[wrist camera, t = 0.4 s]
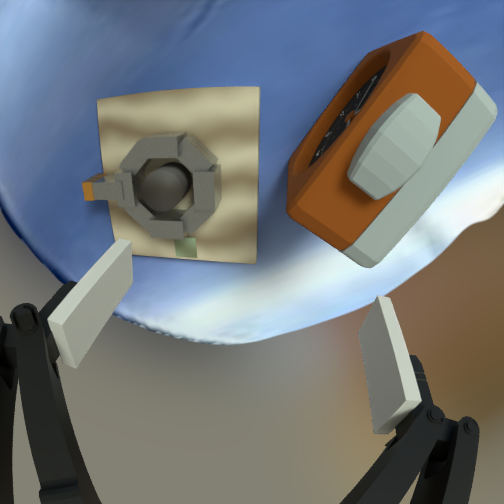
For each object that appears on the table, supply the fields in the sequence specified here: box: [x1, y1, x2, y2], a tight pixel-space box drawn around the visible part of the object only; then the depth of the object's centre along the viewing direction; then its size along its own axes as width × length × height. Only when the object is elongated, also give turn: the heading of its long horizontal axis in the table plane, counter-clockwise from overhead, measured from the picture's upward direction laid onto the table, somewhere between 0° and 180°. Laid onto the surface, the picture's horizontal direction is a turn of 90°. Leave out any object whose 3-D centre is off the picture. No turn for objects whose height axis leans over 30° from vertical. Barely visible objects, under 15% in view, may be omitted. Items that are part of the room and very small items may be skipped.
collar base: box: [97, 87, 260, 264], centre depth 38 cm, size 24×22×6 cm
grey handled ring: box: [82, 132, 222, 240], centre depth 38 cm, size 18×13×4 cm
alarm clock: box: [286, 31, 498, 268], centre depth 26 cm, size 18×9×21 cm, turn 148°
